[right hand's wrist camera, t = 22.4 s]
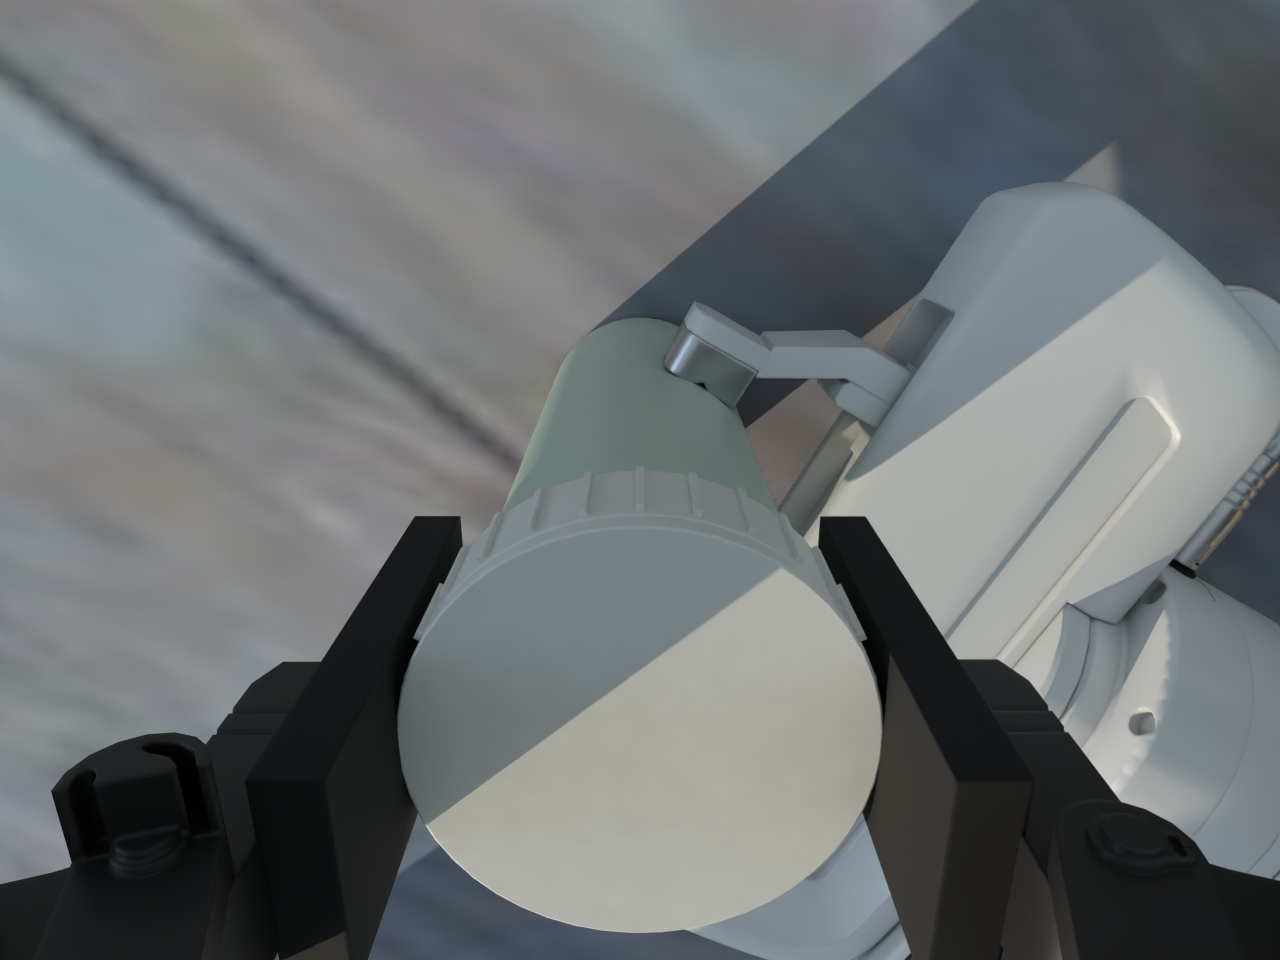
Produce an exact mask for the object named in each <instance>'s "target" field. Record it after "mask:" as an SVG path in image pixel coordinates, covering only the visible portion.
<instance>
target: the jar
mask: <svg viewBox="0 0 1280 960" xmlns="http://www.w3.org/2000/svg"><path fill="white" fill-rule="evenodd" d="M678 329H679V326H677V325H674V324H672V323H669V322H666V321H662V320H658V319H652V318H628V319H622V320H618V321H614V322H611V323H608V324H606V325H603V326H601V327H599V328H597V329H596V330H594V331H592V332H590V333H589V334H588V335H586V336H585V337H584V338H582V339H581V340H580V341H579V342H578V343H577V344H576V345H575V346H574V347H573V348H572V350H571V351H570V352H569V354H568V355H567V356H566V358H565V360H564V361H563V363H562V365H561V367H560V369H559V372H558V374H557V376H556V379H555V381H554V384H553V386H552V389H551V391H550V394H549V396H548V399H547V401H546V404H545V406H544V409H543V411H542V414H541V416H540V419H539V421H538V424H537V426H536V429H535V431H534V434H533V436H532V439H531V441H530V444H529V446H528V449H527V451H526V454H525V456H524V459H523V461H522V464H521V466H520V469H519V471H518V474H517V476H516V479H515V481H514V484H513V486H512V489H511V491H510V494H509V496H508V499H507V501H506V504H505V506H504V509H503V511H502V515H504V514H505V513H506V512H508V511H509V510H510V509H512V508H513V507H515V506H517V505H519V504H520V503H522V502H524V501H525V500H527V499H529V498H530V497H532V496H534V493H535V490H536V489H538V488H540V487H543V488H544V490H548V489H550V488H552V487H555V486H557V485H559V484H562V483H565V482H569V481H573V480H576V479H580V478H583V477H584V473H585V472H590V471H592V473H593V475H597V474H604V473H611V472H617V471H636V467H637V466H644V467H645V471H659V472H669V473H679V474H683V475H688V473H689V471H690V472H694V473H697V478H701V479H705V480H709V481H712V482H714V483H717V484H720V485H723V486H725V487H728V488H731V489H734V490H737V488H738V487H740V488H742V489H744V490H745V491H746V494H747V497H749V498H751V499H753V500H755V501H757V502H759V503H761V504H762V505H764V506H765V507H766V508H768V509H769V510H771V511H772V512H774V513H775V514H776V515H779V513H778V510H777V508H776V505H775V503H774V500H773V498H772V495H771V493H770V490H769V488H768V485H767V483H766V480H765V478H764V475H763V473H762V470H761V468H760V465H759V463H758V460H757V458H756V455H755V453H754V450H753V448H752V445H751V443H750V440H749V438H748V435H747V433H746V430H745V428H744V425H743V423H742V420H741V418H740V415H739V413H738V410H737V408H736V406H735V408H734V407H732V406H730V405H728V404H726V403H725V402H723V401H721V400H719V399H717V398H716V397H715V396H713V395H712V394H711V393H710V392H708V391H707V389H706V387H705V384H704V383H695V384H694V383H691V382H689V381H687V380H684V379H682V378H680V377H678V376H677V375H675V374H674V373H672V372H671V371H670V370H668V369H667V368H666V367H665V366H664V362H665V359H663V358H664V354H665V352H666V351H667V349H668V347H669V345H670V343H671V342H672V340H673V338H674V336H675V334H676V333H677V331H678Z"/></svg>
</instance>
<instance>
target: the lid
mask: <svg viewBox="0 0 1280 960" xmlns="http://www.w3.org/2000/svg"><path fill="white" fill-rule="evenodd" d="M414 639H416V640H418V641H419V643H418V645H417V647H416V649H415V651H414V653H413V655H412V657H411V660H410V662H409V665H408V668H407V671H406V673H405V675H404V680H403V683H402V686H401V692H400V698H399V704H398V710H397V731H398V741H399V750H400V758H401V766H402V773H403V776H404V779H405V782H406V786H407V789H408V792H409V794H410V797H411V799H412V801H413V803H414V805H415V807H416V809H417V811H418V813H419V815H420V817H421V819H422V820H423V822H424V823H425V825H426V826H427V828H428V829H429V831H430V832H431V834H432V835H433V837H434V838H435V840H436V841H437V842H438V843H439V844H440V845H441V847H442V848H443V849H444V850H445V851H446V852H447V853H448V855H449V856H450V857H451V858H452V859H453V860H454V861H455V862H456V863H457V864H458V865H460V866H461V867H462V868H463V869H464V870H465V871H466V872H467V873H469V874H470V875H471V876H472V877H473V878H474V879H476V880H477V881H479V882H480V883H482V884H483V885H485V886H486V887H487V888H489V889H490V890H492V891H493V892H495V893H496V894H498V895H500V896H502V897H503V898H505V899H507V900H509V901H511V902H513V903H515V904H516V905H518V906H520V907H522V908H525V909H527V910H530V911H532V912H535V913H537V914H540V915H542V916H545V917H547V918H551V919H554V920H557V921H561V922H564V923H568V924H571V925H575V926H581V927H586V928H592V929H597V930H603V931H615V932H628V933H647V932H666V931H675V930H683V929H690V928H695V927H699V926H704V925H708V924H713V923H717V922H720V921H723V920H726V919H729V918H732V917H735V916H738V915H741V914H744V913H746V912H748V911H751V910H753V909H755V908H757V907H759V906H761V905H764V904H766V903H768V902H770V901H772V900H773V899H775V898H777V897H778V896H780V895H782V894H783V893H785V892H787V891H788V890H790V889H792V888H793V887H795V886H796V885H797V884H799V883H800V882H801V881H803V880H804V879H805V878H807V877H808V876H809V875H810V874H812V873H813V872H814V871H816V870H817V869H818V868H819V867H820V866H821V865H822V864H823V863H824V862H825V861H826V860H827V859H828V858H829V857H830V856H831V855H832V854H833V853H834V852H835V851H836V849H837V848H838V847H839V846H840V844H841V843H842V842H843V841H844V839H845V838H846V837H847V835H848V834H849V833H850V832H851V830H852V829H853V827H854V825H855V824H856V822H857V820H858V818H859V817H860V815H861V813H862V812H863V810H864V808H865V806H866V804H867V801H868V799H869V796H870V794H871V791H872V789H873V787H874V784H875V781H876V777H877V772H878V768H879V762H880V755H881V746H882V737H883V711H882V701H881V697H880V692H879V688H878V684H877V677H876V675H875V673H874V671H873V668H872V666H871V663H870V661H869V658H868V656H867V653H866V651H865V649H864V646H863V644H862V642H861V641H864V640H866V639H867V637H866V635H865V633H864V631H863V629H862V627H861V625H860V622H859V620H858V618H857V616H856V614H855V612H854V610H853V608H852V606H851V604H850V602H849V600H848V598H847V596H846V593H845V591H844V589H843V587H842V585H841V584H838V585H836V582H835V580H834V578H833V576H832V574H831V572H830V570H829V568H828V565H827V563H826V561H825V559H824V557H823V555H822V553H821V551H820V549H819V548H818V547H817V545H815V546H814V547H812V548H811V547H810V546H809V545H808V543H807V542H806V541H805V540H804V538H803V537H802V536H801V535H800V534H798V533H797V532H796V531H795V530H794V529H793V528H792V527H791V525H790V522H789V520H788V517H787V516H786V515H785V514H783V513H782V512H781V513H780V514H779V515H776V514H775V513H774V512H772V511H771V510H769V509H768V508H766V507H765V506H764V505H762V504H761V503H759V502H757V501H755V500H753V499H751V498H749V497H747V494H746V491H745V490H744V489H742V488H740V487H738V488H737V490H734V489H731V488H728V487H725V486H723V485H720V484H717V483H714V482H712V481H709V480H705V479H701V478H697V473H694V472H690V471H689V473H688V475H683V474H679V473H669V472H659V471H645V467H644V466H637V467H636V471H617V472H611V473H604V474H597V475H593V473H592V471H590V472H585V473H584V477H583V478H580V479H576V480H573V481H569V482H565V483H562V484H559V485H557V486H555V487H552V488H550V489H548V490H544V488H543V487H540V488H538V489H536V490H535V493H534V496H532V497H530V498H529V499H527V500H525V501H524V502H522V503H520V504H519V505H517V506H515V507H513V508H512V509H510V510H509V511H508V512H506V513H505V514H504V515H502V514H501V513H500V512H498V513H497V514H495V515H494V516H493V518H492V521H491V523H490V526H489V527H488V528H487V529H486V530H485V531H484V532H483V533H482V534H481V535H480V536H479V537H478V538H477V539H476V540H475V541H474V542H473V543H472V544H471V545H470V547H467V546H466V545H463V547H462V548H461V549H460V551H459V553H458V555H457V557H456V560H455V562H454V564H453V566H452V568H451V570H450V572H449V574H448V577H447V579H446V581H445V583H444V584H441V583H439V585H438V588H437V590H436V592H435V594H434V596H433V598H432V600H431V602H430V604H429V606H428V608H427V610H426V612H425V614H424V616H423V619H422V621H421V623H420V625H419V627H418V629H417V631H416V633H415V635H414Z"/></svg>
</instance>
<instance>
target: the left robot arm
mask: <svg viewBox="0 0 1280 960" xmlns="http://www.w3.org/2000/svg"><path fill="white" fill-rule="evenodd" d="M663 359H665V362H664V366H665V367H666V368H667V369H668V370H670V371H671V372H672V373H674V374H675V375H677V376H678V377H680V378H682V379H684V380H687V381H689V382H691V383H694V384H695V383H704V384H705V387H706V389H707V391H708V392H710V393H711V394H712V395H713V396H715V397H716V398H717V399H719V400H721V401H723V402H725V403H726V404H728V405H730V406H732V407H734V408H735V406H736V405H737V403H738V402H739V400H740V399H741V397H742V395H743V394H744V392H745V391H746V389H747V388H748V386H749V385H750V383H751V382H752V380H753V379H754V377H755V376H756V378H812V379H817V382H818V384H819V385H820V386H821V387H822V388H823V390H824V391H825V392H826V393H827V394H828V396H829V397H830V398H831V399H832V400H833V401H834V403H835V404H836V405H837V406H839V407H841V408H842V409H843V411H842V412H841V414H840V415H839V417H838V418H837V420H836V421H835V423H834V424H833V426H832V427H831V429H830V430H829V432H828V433H827V435H826V436H825V438H824V439H823V441H822V442H821V444H820V445H819V447H818V448H817V450H816V451H815V453H814V454H813V456H812V457H811V459H810V460H809V462H808V463H807V465H806V466H805V468H804V469H803V471H802V472H801V474H800V475H799V477H798V478H797V480H796V481H795V483H794V484H793V486H792V487H791V489H790V490H789V492H788V493H787V495H786V496H785V498H784V499H783V501H782V502H781V504H780V505H779V507H778V508H777V510H778V513H779V514H780V513H781V512H782V513H783V514H785V515H786V516H787V517H788V520H789V522H790V525H791V527H792V528H793V529H794V530H795V531H796V532H797V533H798V534H800V535H801V536H802V537H803V538H804V540H805V541H806V542H807V543H808V545H809V546H810V547H811V548H812V547H814V546H815V545H817V547H818V538H819V525H820V516H866V518H867V519H868V521H869V522H870V524H871V526H872V527H873V529H874V530H875V532H876V533H877V535H878V536H879V538H880V540H881V541H882V543H883V544H884V546H885V547H886V549H887V550H888V552H889V553H890V555H891V557H892V558H893V560H894V561H895V563H896V564H897V566H898V567H899V569H900V570H901V572H902V574H903V575H904V577H905V578H906V580H907V581H908V583H909V584H910V586H911V588H912V589H913V591H914V592H915V594H916V595H917V597H918V598H919V600H920V601H921V603H922V605H923V606H924V608H925V609H926V611H927V612H928V614H929V615H930V617H931V618H932V620H933V622H934V623H935V625H936V626H937V628H938V629H939V631H940V632H941V634H942V636H943V637H944V639H945V640H946V642H947V643H948V645H949V646H950V648H951V649H952V651H953V653H954V654H955V656H956V657H957V659H998V660H1000V661H1001V662H1003V663H1004V664H1005V665H1007V666H1008V667H1010V668H1011V669H1013V670H1014V671H1016V672H1017V673H1019V674H1020V675H1022V676H1023V677H1025V678H1026V679H1027V680H1029V681H1030V682H1031V684H1032V685H1033V686H1034V688H1035V689H1036V690H1037V692H1038V693H1039V694H1040V696H1041V697H1042V698H1043V699H1044V701H1045V702H1046V703H1047V705H1048V709H1049V711H1053V713H1054V714H1055V715H1056V717H1057V718H1058V719H1059V721H1060V722H1061V723H1062V725H1063V726H1064V731H1065V732H1069V734H1070V735H1071V736H1072V738H1073V739H1074V740H1075V742H1076V743H1077V744H1078V746H1079V747H1080V748H1081V750H1082V751H1083V752H1084V754H1085V755H1086V756H1087V758H1088V759H1089V760H1090V761H1091V763H1092V764H1093V765H1094V767H1095V768H1096V769H1097V771H1098V772H1099V773H1100V775H1101V776H1102V777H1103V779H1104V780H1105V781H1106V783H1107V784H1108V785H1109V787H1110V788H1111V789H1112V790H1113V792H1114V793H1115V794H1116V796H1117V797H1118V798H1119V800H1120V801H1121V802H1124V803H1127V804H1130V805H1134V806H1137V807H1140V808H1144V809H1146V810H1148V811H1150V812H1152V813H1154V814H1156V815H1158V816H1160V817H1162V818H1164V819H1166V820H1167V821H1169V822H1171V823H1173V824H1174V825H1175V826H1177V827H1178V828H1179V829H1180V830H1181V831H1183V832H1184V833H1185V834H1186V835H1188V836H1189V837H1190V838H1191V839H1192V840H1194V841H1195V842H1196V844H1197V845H1198V847H1199V848H1200V850H1201V851H1202V853H1203V854H1204V856H1205V857H1206V859H1207V860H1208V862H1209V863H1210V864H1213V865H1217V866H1220V867H1224V868H1227V869H1231V870H1235V871H1239V872H1244V873H1248V874H1253V875H1257V876H1261V877H1266V878H1270V879H1274V880H1279V881H1280V625H1278V624H1277V623H1275V622H1274V621H1272V620H1271V619H1269V618H1268V617H1266V616H1263V615H1262V614H1260V613H1258V612H1257V611H1255V610H1253V609H1252V608H1250V607H1248V606H1246V605H1245V604H1243V603H1241V602H1239V601H1238V600H1236V599H1234V598H1232V597H1231V596H1229V595H1227V594H1225V593H1224V592H1222V591H1220V590H1218V589H1217V588H1215V587H1213V586H1212V585H1210V584H1208V583H1206V582H1205V581H1203V580H1201V579H1199V578H1198V577H1197V576H1196V575H1195V574H1194V572H1195V571H1197V570H1198V568H1199V567H1200V565H1202V564H1203V563H1204V561H1205V560H1206V559H1207V558H1208V557H1209V556H1210V554H1211V553H1212V552H1213V551H1214V550H1215V549H1216V548H1217V546H1218V545H1219V544H1220V543H1221V542H1222V541H1223V540H1224V538H1225V537H1226V536H1227V535H1228V534H1229V533H1230V531H1231V530H1232V529H1233V528H1234V527H1235V526H1236V524H1237V523H1238V522H1239V520H1240V519H1241V518H1242V516H1243V515H1244V514H1245V512H1244V510H1247V509H1248V508H1249V506H1250V504H1251V500H1254V498H1255V497H1256V496H1257V494H1258V490H1261V489H1262V488H1263V486H1264V485H1265V484H1266V482H1265V481H1266V480H1269V479H1270V478H1271V477H1272V476H1273V475H1274V474H1275V472H1276V471H1277V470H1278V469H1279V468H1280V302H1279V301H1278V300H1276V299H1275V298H1273V297H1272V296H1270V295H1269V294H1267V293H1266V292H1264V291H1263V290H1261V289H1258V288H1256V287H1253V286H1250V285H1245V284H1240V283H1221V282H1220V281H1219V280H1218V279H1217V278H1216V277H1214V276H1213V275H1212V274H1211V273H1210V272H1209V271H1208V270H1207V269H1206V268H1205V267H1204V266H1203V265H1202V264H1201V263H1200V262H1199V261H1198V260H1196V259H1195V258H1194V257H1193V256H1192V255H1191V254H1189V253H1188V252H1187V251H1186V250H1185V249H1184V248H1183V247H1181V246H1180V245H1179V244H1178V243H1177V242H1176V241H1174V240H1173V239H1172V238H1171V237H1170V236H1168V235H1167V234H1166V233H1165V232H1164V231H1163V230H1161V229H1160V228H1159V227H1158V226H1156V225H1155V224H1154V223H1152V222H1151V221H1150V220H1148V219H1147V218H1146V217H1145V216H1143V215H1142V214H1141V213H1139V212H1138V211H1137V210H1135V209H1134V208H1133V207H1131V206H1130V205H1128V204H1127V203H1125V202H1124V201H1123V200H1121V199H1120V198H1118V197H1116V196H1115V195H1113V194H1111V193H1110V192H1107V191H1105V190H1103V189H1100V188H1096V187H1093V186H1090V185H1085V184H1080V183H1072V182H1062V181H1060V182H1042V183H1035V184H1030V185H1025V186H1020V187H1015V188H1011V189H1007V190H1003V191H999V192H996V193H993V194H991V195H990V196H988V197H987V198H985V199H984V200H983V202H982V203H981V204H980V205H979V206H978V208H977V209H976V210H975V212H974V213H973V215H972V216H971V218H970V219H969V221H968V223H967V224H966V226H965V227H964V229H963V230H962V232H961V233H960V235H959V236H958V238H957V239H956V241H955V242H954V244H953V245H952V247H951V248H950V250H949V251H948V253H947V254H946V256H945V257H944V259H943V260H942V262H941V263H940V265H939V266H938V268H937V269H936V271H935V272H934V274H933V275H932V277H931V278H930V280H929V281H928V283H927V284H926V286H925V287H924V289H923V290H922V292H921V293H920V295H919V296H918V298H917V299H916V301H915V302H914V304H913V305H912V307H911V308H910V310H909V311H908V313H907V314H906V316H905V317H904V319H903V320H902V322H901V323H900V325H899V326H898V328H897V329H896V331H895V332H894V334H893V335H892V337H891V338H890V340H889V341H888V343H887V344H886V346H885V347H884V349H883V350H882V351H881V350H879V349H877V348H875V347H874V346H872V345H870V344H868V343H867V342H865V341H863V340H862V339H860V338H858V337H856V336H855V335H853V334H851V333H849V332H848V331H846V330H811V331H768V332H762V334H761V335H760V336H759V335H757V334H755V333H754V332H752V331H750V330H748V329H747V328H745V327H743V326H741V325H740V324H738V323H736V322H734V321H733V320H731V319H729V318H728V317H726V316H724V315H722V314H721V313H719V312H717V311H715V310H714V309H712V308H710V307H708V306H706V305H704V304H701V303H699V302H696V301H694V303H693V304H692V306H691V308H690V310H689V312H688V313H687V315H686V317H685V319H684V320H683V322H682V323H681V325H680V327H679V329H678V331H677V333H676V334H675V336H674V338H673V340H672V342H671V343H670V345H669V347H668V349H667V351H666V352H665V354H664V358H663ZM685 930H687V931H690V932H692V933H695V934H697V935H699V936H702V937H705V938H707V939H710V940H713V941H715V942H718V943H720V944H723V945H726V946H728V947H731V948H734V949H737V950H740V951H743V952H745V953H748V954H751V955H754V956H757V957H760V958H763V959H766V960H853V959H855V958H856V957H857V959H858V960H913V958H912V955H911V952H910V949H909V946H908V943H907V941H906V938H905V935H904V932H903V929H902V926H901V923H900V920H899V917H898V914H897V911H896V909H895V906H894V903H893V900H892V897H891V894H890V891H889V888H888V885H887V882H886V880H885V877H884V874H883V871H882V868H881V865H880V862H879V859H878V856H877V853H876V850H875V848H874V845H873V842H872V839H871V836H870V833H869V830H868V827H867V824H866V821H865V819H864V816H863V813H861V815H860V817H859V818H858V820H857V822H856V824H855V825H854V827H853V829H852V830H851V832H850V833H849V834H848V835H847V837H846V838H845V839H844V841H843V842H842V843H841V844H840V846H839V847H838V848H837V849H836V851H835V852H834V853H833V854H832V855H831V856H830V857H829V858H828V859H827V860H826V861H825V862H824V863H823V864H822V865H821V866H820V867H819V868H818V869H817V870H816V871H814V872H813V873H812V874H810V875H809V876H808V877H807V878H805V879H804V880H803V881H801V882H800V883H799V884H797V885H796V886H795V887H793V888H792V889H790V890H788V891H787V892H785V893H783V894H782V895H780V896H778V897H777V898H775V899H773V900H772V901H770V902H768V903H766V904H764V905H761V906H759V907H757V908H755V909H753V910H751V911H748V912H746V913H744V914H741V915H738V916H735V917H732V918H729V919H726V920H723V921H720V922H717V923H713V924H708V925H704V926H699V927H695V928H690V929H685ZM1001 960H1008V958H1007V956H1006V954H1005V952H1004V950H1003V953H1002V958H1001Z"/></svg>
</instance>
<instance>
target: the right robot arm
mask: <svg viewBox="0 0 1280 960" xmlns="http://www.w3.org/2000/svg"><path fill="white" fill-rule="evenodd" d="M462 547H463V544H462V531H461V519H460V516H415V517H414V519H413V520H412V522H411V523H410V525H409V526H408V528H407V529H406V531H405V533H404V534H403V536H402V537H401V539H400V540H399V542H398V543H397V545H396V547H395V548H394V550H393V551H392V553H391V554H390V556H389V557H388V559H387V560H386V562H385V564H384V565H383V567H382V568H381V570H380V571H379V573H378V574H377V576H376V578H375V579H374V581H373V582H372V584H371V585H370V587H369V588H368V590H367V591H366V593H365V595H364V596H363V598H362V599H361V601H360V602H359V604H358V605H357V607H356V608H355V610H354V612H353V613H352V615H351V616H350V618H349V619H348V621H347V622H346V624H345V626H344V627H343V629H342V630H341V632H340V633H339V635H338V636H337V638H336V639H335V641H334V643H333V644H332V646H331V647H330V649H329V650H328V652H327V653H326V655H325V657H324V658H323V660H322V661H321V662H282V663H281V664H279V665H278V666H276V667H275V668H274V669H272V670H271V671H269V672H268V673H266V674H265V675H263V676H262V677H260V678H259V679H257V680H256V681H255V682H253V683H252V684H251V685H250V686H249V688H248V689H247V690H246V692H245V693H244V694H243V696H242V697H241V698H240V700H239V701H238V702H237V704H236V705H235V706H234V708H233V713H232V714H228V716H227V717H226V718H225V720H224V721H223V722H222V724H221V725H220V726H219V728H218V729H217V734H216V735H213V736H212V737H211V738H210V740H209V741H208V742H207V744H206V745H205V744H204V743H203V742H202V741H201V740H199V739H198V738H197V737H194V736H189V735H185V734H180V733H159V734H147V735H143V736H139V737H136V738H132V739H128V740H124V741H120V742H117V743H115V744H113V745H111V746H109V747H106V748H104V749H102V750H100V751H98V752H96V753H93V754H91V755H89V756H88V757H86V758H85V759H84V760H82V761H81V762H79V763H78V764H77V765H75V766H74V767H73V768H71V769H70V770H68V771H67V772H66V773H65V774H64V775H63V777H62V778H61V779H60V780H59V782H58V783H57V784H56V785H55V787H54V788H53V789H52V791H51V793H52V796H53V799H54V803H55V806H56V810H57V813H58V817H59V820H60V824H61V827H62V830H63V834H64V837H65V841H66V844H67V848H68V851H69V855H70V858H71V861H72V863H71V866H70V867H69V868H66V869H63V870H59V871H56V872H52V873H48V874H44V875H39V876H35V877H31V878H26V879H22V880H17V881H13V882H9V883H4V884H0V960H274V959H275V957H276V955H277V953H278V955H279V960H367V959H368V957H369V954H370V951H371V948H372V945H373V942H374V939H375V936H376V933H377V930H378V928H379V925H380V922H381V919H382V916H383V913H384V910H385V907H386V904H387V901H388V898H389V896H390V893H391V890H392V887H393V884H394V881H395V878H396V875H397V872H398V869H399V866H400V864H401V861H402V858H403V855H404V852H405V849H406V846H407V843H408V840H409V837H410V835H411V832H412V829H413V826H414V823H415V820H416V817H417V814H418V811H417V809H416V807H415V805H414V803H413V801H412V799H411V797H410V794H409V792H408V789H407V786H406V782H405V779H404V776H403V773H402V766H401V758H400V750H399V741H398V731H397V710H398V704H399V698H400V692H401V686H402V683H403V680H404V675H405V673H406V671H407V668H408V665H409V662H410V660H411V657H412V655H413V653H414V651H415V649H416V647H417V645H418V643H419V641H418V640H416V639H414V635H415V633H416V631H417V629H418V627H419V625H420V623H421V621H422V619H423V616H424V614H425V612H426V610H427V608H428V606H429V604H430V602H431V600H432V598H433V596H434V594H435V592H436V590H437V588H438V585H439V583H441V584H444V583H445V581H446V579H447V577H448V574H449V572H450V570H451V568H452V566H453V564H454V562H455V560H456V557H457V555H458V553H459V551H460V549H461V548H462ZM818 548H819V549H820V551H821V553H822V555H823V557H824V559H825V561H826V563H827V565H828V568H829V570H830V572H831V574H832V576H833V578H834V580H835V582H836V585H838V584H841V585H842V587H843V589H844V591H845V593H846V596H847V598H848V600H849V602H850V604H851V606H852V608H853V610H854V612H855V614H856V616H857V618H858V620H859V622H860V625H861V627H862V629H863V631H864V633H865V635H866V637H867V639H866V640H864V641H861V642H862V644H863V646H864V649H865V651H866V653H867V656H868V658H869V661H870V663H871V666H872V668H873V671H874V673H875V675H876V677H877V684H878V688H879V692H880V697H881V701H882V711H883V737H882V746H881V755H880V762H879V768H878V772H877V777H876V781H875V784H874V787H873V789H872V791H871V794H870V796H869V799H868V801H867V804H866V806H865V808H864V810H863V812H862V813H863V816H864V819H865V821H866V824H867V827H868V830H869V833H870V836H871V839H872V842H873V845H874V848H875V850H876V853H877V856H878V859H879V862H880V865H881V868H882V871H883V874H884V877H885V880H886V882H887V885H888V888H889V891H890V894H891V897H892V900H893V903H894V906H895V909H896V911H897V914H898V917H899V920H900V923H901V926H902V929H903V932H904V935H905V938H906V941H907V943H908V946H909V949H910V952H911V955H912V958H913V960H1001V958H1002V953H1003V950H1004V952H1005V954H1006V956H1007V958H1008V960H1280V881H1279V880H1274V879H1270V878H1266V877H1261V876H1257V875H1253V874H1248V873H1244V872H1239V871H1235V870H1231V869H1227V868H1224V867H1220V866H1217V865H1213V864H1210V863H1209V862H1208V860H1207V859H1206V857H1205V856H1204V854H1203V853H1202V851H1201V850H1200V848H1199V847H1198V845H1197V844H1196V842H1195V841H1194V840H1192V839H1191V838H1190V837H1189V836H1188V835H1186V834H1185V833H1184V832H1183V831H1181V830H1180V829H1179V828H1178V827H1177V826H1175V825H1174V824H1173V823H1171V822H1169V821H1167V820H1166V819H1164V818H1162V817H1160V816H1158V815H1156V814H1154V813H1152V812H1150V811H1148V810H1146V809H1144V808H1140V807H1137V806H1134V805H1130V804H1127V803H1124V802H1121V801H1120V800H1119V798H1118V797H1117V796H1116V794H1115V793H1114V792H1113V790H1112V789H1111V788H1110V787H1109V785H1108V784H1107V783H1106V781H1105V780H1104V779H1103V777H1102V776H1101V775H1100V773H1099V772H1098V771H1097V769H1096V768H1095V767H1094V765H1093V764H1092V763H1091V761H1090V760H1089V759H1088V758H1087V756H1086V755H1085V754H1084V752H1083V751H1082V750H1081V748H1080V747H1079V746H1078V744H1077V743H1076V742H1075V740H1074V739H1073V738H1072V736H1071V735H1070V734H1069V732H1065V731H1064V726H1063V725H1062V723H1061V722H1060V721H1059V719H1058V718H1057V717H1056V715H1055V714H1054V713H1053V711H1049V709H1048V705H1047V703H1046V702H1045V701H1044V699H1043V698H1042V697H1041V696H1040V694H1039V693H1038V692H1037V690H1036V689H1035V688H1034V686H1033V685H1032V684H1031V682H1030V681H1029V680H1027V679H1026V678H1025V677H1023V676H1022V675H1020V674H1019V673H1017V672H1016V671H1014V670H1013V669H1011V668H1010V667H1008V666H1007V665H1005V664H1004V663H1003V662H1001V661H1000V660H998V659H957V657H956V656H955V654H954V653H953V651H952V649H951V648H950V646H949V645H948V643H947V642H946V640H945V639H944V637H943V636H942V634H941V632H940V631H939V629H938V628H937V626H936V625H935V623H934V622H933V620H932V618H931V617H930V615H929V614H928V612H927V611H926V609H925V608H924V606H923V605H922V603H921V601H920V600H919V598H918V597H917V595H916V594H915V592H914V591H913V589H912V588H911V586H910V584H909V583H908V581H907V580H906V578H905V577H904V575H903V574H902V572H901V570H900V569H899V567H898V566H897V564H896V563H895V561H894V560H893V558H892V557H891V555H890V553H889V552H888V550H887V549H886V547H885V546H884V544H883V543H882V541H881V540H880V538H879V536H878V535H877V533H876V532H875V530H874V529H873V527H872V526H871V524H870V522H869V521H868V519H867V518H866V516H820V525H819V538H818Z"/></svg>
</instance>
